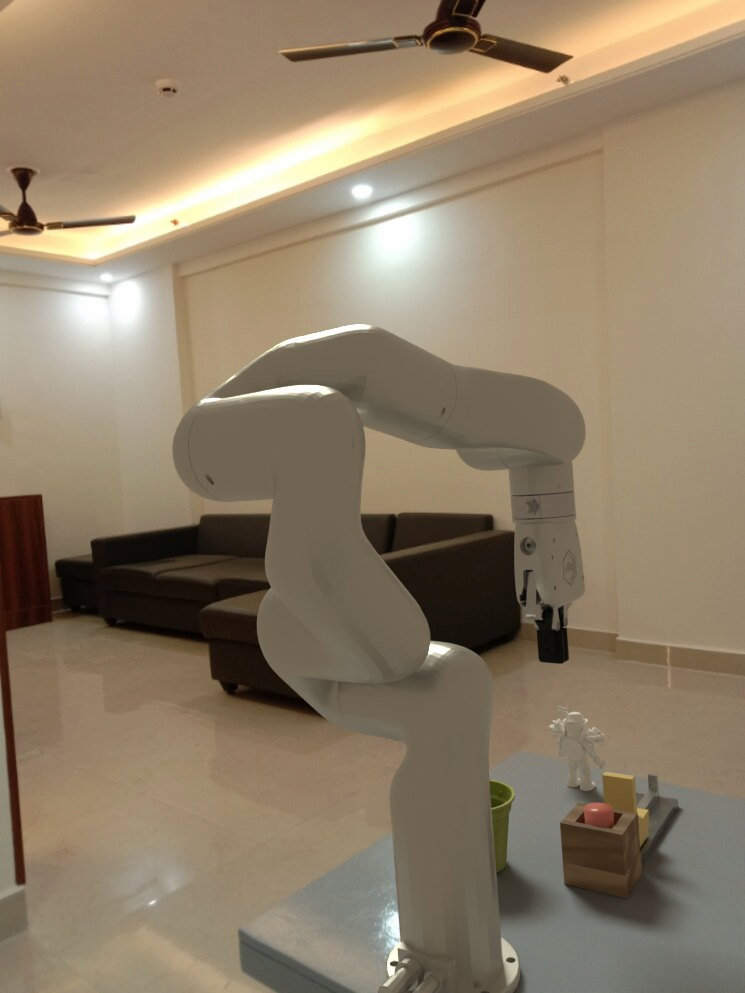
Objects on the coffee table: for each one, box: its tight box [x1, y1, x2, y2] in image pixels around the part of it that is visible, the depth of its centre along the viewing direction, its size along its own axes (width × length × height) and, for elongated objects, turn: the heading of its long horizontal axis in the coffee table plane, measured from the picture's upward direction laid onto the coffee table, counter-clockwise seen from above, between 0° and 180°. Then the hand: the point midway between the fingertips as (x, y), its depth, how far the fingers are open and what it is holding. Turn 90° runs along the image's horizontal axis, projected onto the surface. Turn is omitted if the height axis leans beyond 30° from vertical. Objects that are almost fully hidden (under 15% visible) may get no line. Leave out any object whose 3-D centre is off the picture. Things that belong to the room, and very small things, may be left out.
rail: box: [636, 773, 679, 867], centre depth 101 cm, size 19×6×4 cm, turn 146°
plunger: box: [584, 802, 614, 829], centre depth 90 cm, size 3×3×5 cm
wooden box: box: [559, 802, 643, 899], centre depth 90 cm, size 6×7×7 cm
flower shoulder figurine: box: [548, 703, 606, 792], centre depth 116 cm, size 9×4×12 cm, turn 39°
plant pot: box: [489, 779, 516, 874], centre depth 95 cm, size 9×9×9 cm
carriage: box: [601, 771, 650, 847], centre depth 96 cm, size 5×5×8 cm
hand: (553, 661), depth 95 cm, fingers closed
